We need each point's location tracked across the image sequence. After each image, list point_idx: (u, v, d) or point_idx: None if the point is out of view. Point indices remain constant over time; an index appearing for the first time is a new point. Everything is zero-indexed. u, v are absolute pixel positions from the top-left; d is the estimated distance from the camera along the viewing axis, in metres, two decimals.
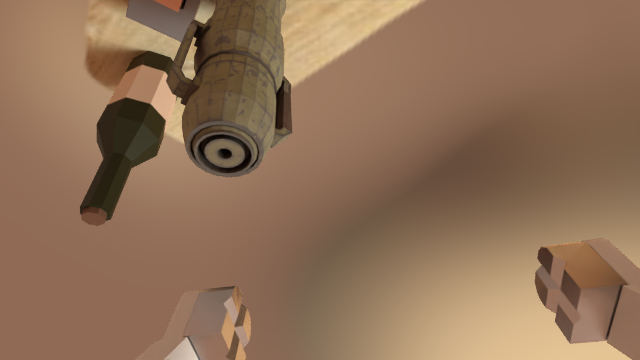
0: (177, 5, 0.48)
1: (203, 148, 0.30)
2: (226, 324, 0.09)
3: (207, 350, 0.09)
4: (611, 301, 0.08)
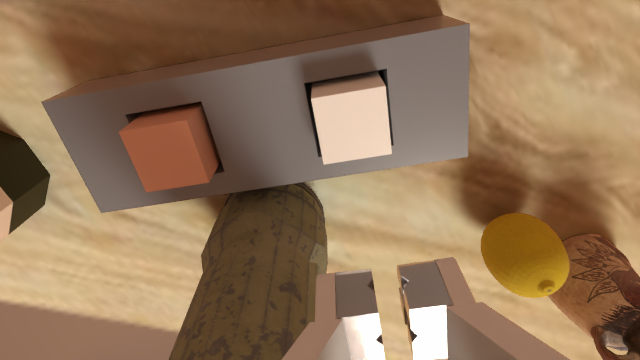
0: (157, 186, 0.23)
1: None
2: None
3: (358, 333, 0.09)
4: (441, 321, 0.09)
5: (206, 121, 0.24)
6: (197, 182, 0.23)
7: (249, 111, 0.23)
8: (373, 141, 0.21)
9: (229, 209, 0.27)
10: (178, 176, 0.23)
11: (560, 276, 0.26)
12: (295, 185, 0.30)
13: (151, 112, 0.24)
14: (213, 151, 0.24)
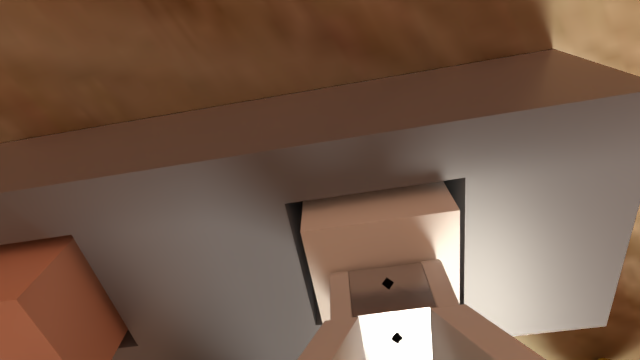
0: None
1: None
2: (392, 305, 0.09)
3: (373, 331, 0.09)
4: (425, 322, 0.09)
5: None
6: None
7: (173, 251, 0.11)
8: None
9: None
10: None
11: None
12: None
13: None
14: (114, 311, 0.13)
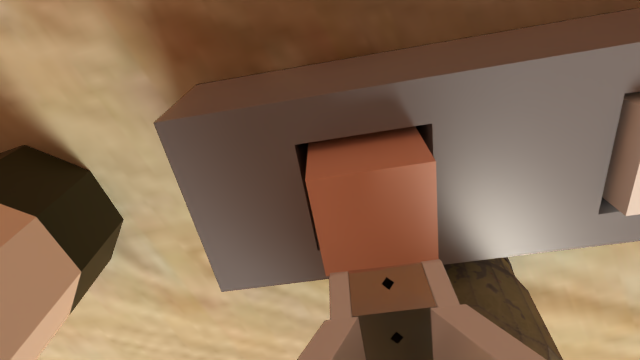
0: (347, 267, 0.13)
1: None
2: (391, 305, 0.09)
3: (373, 331, 0.09)
4: (425, 322, 0.09)
5: None
6: None
7: (510, 140, 0.13)
8: None
9: None
10: (388, 252, 0.13)
11: None
12: None
13: None
14: None
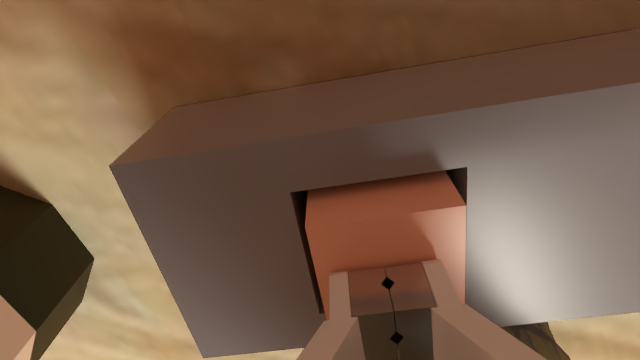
0: None
1: None
2: (391, 305, 0.09)
3: (372, 331, 0.09)
4: (426, 322, 0.09)
5: None
6: None
7: (566, 187, 0.10)
8: None
9: None
10: None
11: None
12: None
13: None
14: None
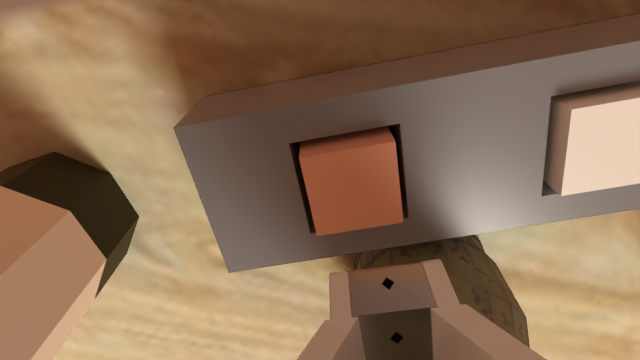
0: (333, 228, 0.17)
1: None
2: (392, 305, 0.09)
3: (373, 331, 0.09)
4: (425, 322, 0.09)
5: None
6: (388, 222, 0.17)
7: (463, 135, 0.16)
8: (636, 164, 0.16)
9: None
10: (364, 215, 0.17)
11: None
12: None
13: None
14: None
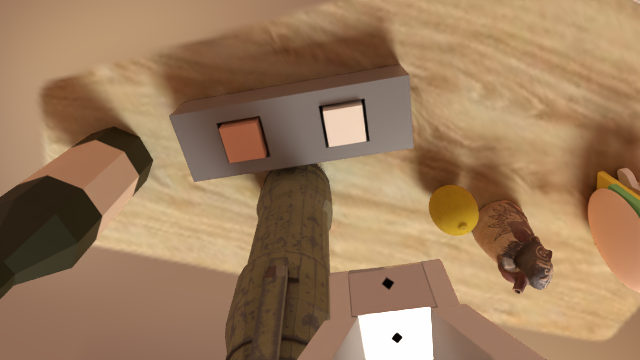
0: (236, 159, 0.41)
1: None
2: (392, 305, 0.09)
3: (373, 331, 0.09)
4: (426, 322, 0.09)
5: None
6: (258, 157, 0.41)
7: (286, 121, 0.40)
8: (356, 134, 0.40)
9: (272, 180, 0.44)
10: (248, 154, 0.41)
11: (470, 220, 0.43)
12: (311, 166, 0.47)
13: None
14: (265, 140, 0.42)
